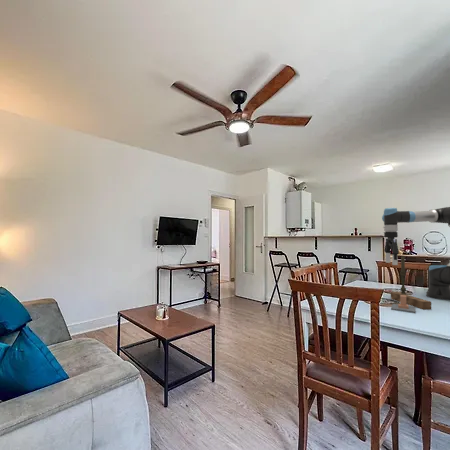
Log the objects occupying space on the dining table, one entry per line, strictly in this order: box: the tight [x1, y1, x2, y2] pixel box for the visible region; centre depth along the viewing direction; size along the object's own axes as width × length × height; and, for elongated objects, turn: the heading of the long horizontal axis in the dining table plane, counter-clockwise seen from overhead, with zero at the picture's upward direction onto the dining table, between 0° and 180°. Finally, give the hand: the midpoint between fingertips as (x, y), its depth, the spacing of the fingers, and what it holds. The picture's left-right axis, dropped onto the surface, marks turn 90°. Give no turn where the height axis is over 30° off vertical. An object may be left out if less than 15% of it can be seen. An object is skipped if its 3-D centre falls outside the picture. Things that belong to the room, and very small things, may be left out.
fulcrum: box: [390, 295, 417, 314], centre depth 163 cm, size 12×12×8 cm
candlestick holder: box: [399, 255, 408, 295], centre depth 193 cm, size 9×9×30 cm
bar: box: [390, 291, 432, 311], centre depth 175 cm, size 26×5×5 cm, turn 9°
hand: (391, 263), depth 176 cm, fingers open, 13 cm apart
